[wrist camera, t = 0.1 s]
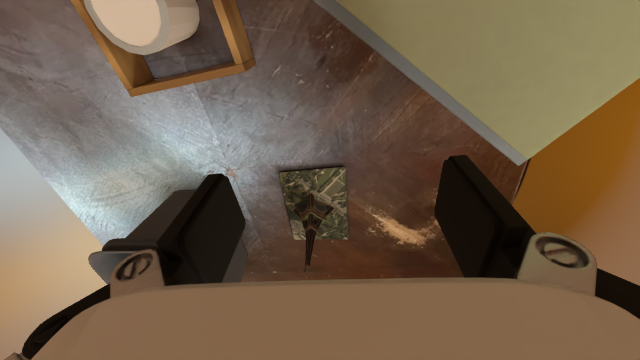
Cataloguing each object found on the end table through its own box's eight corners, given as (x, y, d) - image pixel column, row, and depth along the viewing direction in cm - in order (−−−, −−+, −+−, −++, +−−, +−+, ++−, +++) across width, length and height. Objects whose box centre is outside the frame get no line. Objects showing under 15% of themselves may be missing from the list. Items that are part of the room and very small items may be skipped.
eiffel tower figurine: (350, 237, 44) (355, 313, 33) (294, 239, 45) (280, 314, 34) (345, 165, 35) (350, 235, 24) (276, 170, 36) (251, 239, 25)
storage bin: (264, 263, 49) (242, 342, 38) (190, 263, 51) (146, 340, 39) (237, 175, 37) (192, 251, 26) (141, 178, 39) (56, 252, 27)
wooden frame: (68, -61, 23) (24, -73, 20) (200, -108, 21) (175, -130, 18) (152, 87, 30) (130, 97, 27) (256, 64, 28) (245, 71, 25)
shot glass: (187, 59, 28) (150, 72, 23) (127, 9, 26) (68, 9, 20) (217, 7, 25) (183, 6, 20) (153, -56, 23) (92, -78, 17)
